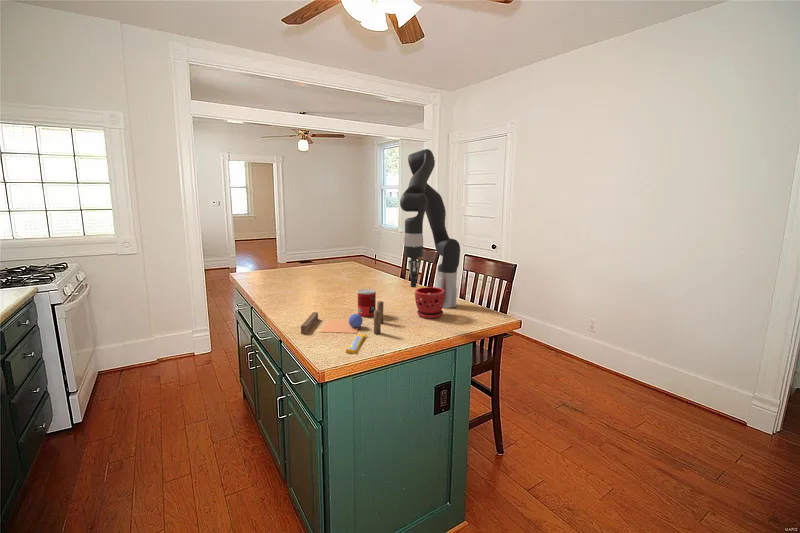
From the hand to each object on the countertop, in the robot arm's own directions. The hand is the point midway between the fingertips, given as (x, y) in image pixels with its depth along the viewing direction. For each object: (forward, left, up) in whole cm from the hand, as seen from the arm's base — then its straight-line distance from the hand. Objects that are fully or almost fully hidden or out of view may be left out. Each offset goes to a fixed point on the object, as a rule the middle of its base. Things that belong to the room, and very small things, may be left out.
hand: (413, 287), depth 153 cm
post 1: (+14, -3, -16) cm, 21 cm away
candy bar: (+20, +22, -17) cm, 34 cm away
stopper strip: (+42, +4, -16) cm, 45 cm away
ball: (+23, +4, -14) cm, 27 cm away
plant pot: (-7, -14, -17) cm, 23 cm away
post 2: (+14, +10, -16) cm, 24 cm away
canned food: (+21, -13, -17) cm, 30 cm away
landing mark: (+29, +4, -16) cm, 33 cm away
